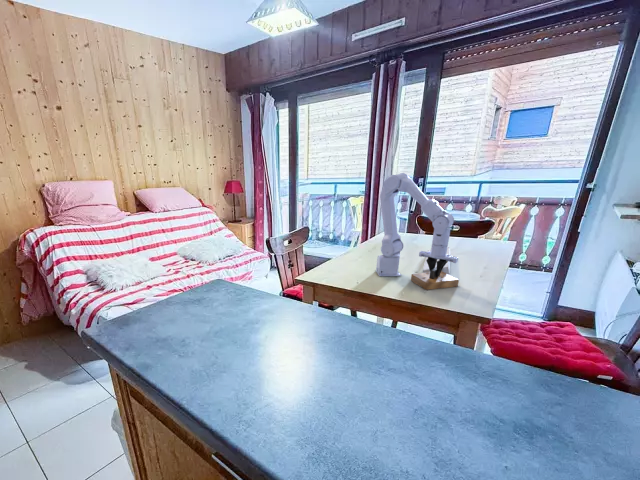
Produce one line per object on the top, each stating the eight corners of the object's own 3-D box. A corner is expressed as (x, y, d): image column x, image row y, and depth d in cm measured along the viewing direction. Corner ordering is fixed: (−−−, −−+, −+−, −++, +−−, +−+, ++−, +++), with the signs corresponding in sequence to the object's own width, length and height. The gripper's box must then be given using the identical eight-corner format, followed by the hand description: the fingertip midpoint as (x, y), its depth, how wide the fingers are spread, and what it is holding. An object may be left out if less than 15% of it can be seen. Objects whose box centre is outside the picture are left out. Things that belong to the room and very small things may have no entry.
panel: (425, 289, 132) (427, 282, 131) (410, 280, 143) (411, 273, 141) (457, 286, 134) (459, 279, 133) (440, 277, 144) (441, 270, 143)
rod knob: (433, 279, 135) (434, 270, 133) (429, 278, 136) (430, 269, 134) (440, 275, 138) (441, 266, 137) (436, 274, 139) (437, 265, 138)
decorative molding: (424, 280, 148) (449, 277, 143) (422, 270, 147) (448, 266, 142) (429, 258, 175) (450, 255, 170) (427, 250, 174) (449, 246, 169)
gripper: (463, 245, 129) (457, 277, 134) (426, 239, 139) (421, 269, 144) (456, 248, 125) (450, 281, 130) (418, 242, 135) (414, 273, 140)
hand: (434, 275), depth 137 cm, fingers closed on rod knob, 2 cm apart
